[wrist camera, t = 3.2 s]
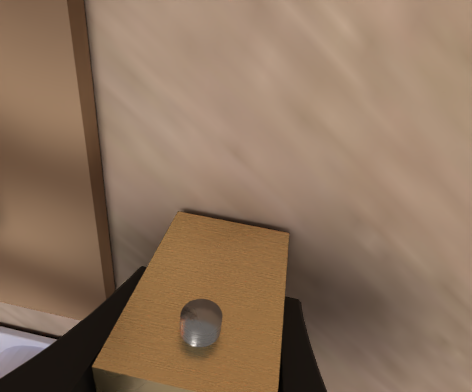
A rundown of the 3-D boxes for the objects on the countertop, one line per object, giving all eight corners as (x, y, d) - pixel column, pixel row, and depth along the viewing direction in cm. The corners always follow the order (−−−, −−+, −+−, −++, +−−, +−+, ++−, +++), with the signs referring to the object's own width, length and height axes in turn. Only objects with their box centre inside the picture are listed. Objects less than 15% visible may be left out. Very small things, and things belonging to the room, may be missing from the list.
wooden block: (268, 317, 15) (247, 494, 10) (175, 297, 15) (109, 457, 10) (291, 221, 12) (280, 398, 7) (178, 199, 12) (89, 352, 7)
